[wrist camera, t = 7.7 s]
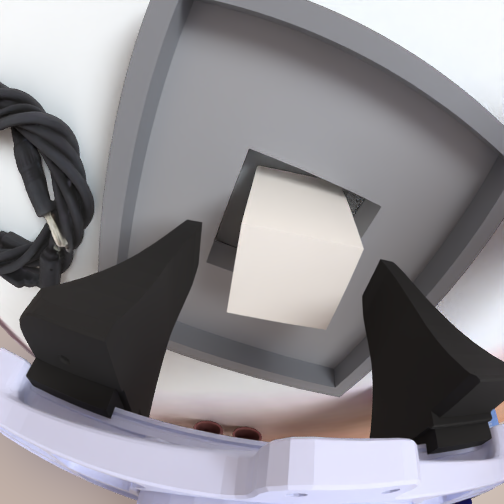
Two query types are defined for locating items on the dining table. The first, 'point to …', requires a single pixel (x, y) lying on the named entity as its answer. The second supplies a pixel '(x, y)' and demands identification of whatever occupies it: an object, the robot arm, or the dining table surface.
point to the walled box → (298, 155)
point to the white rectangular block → (294, 250)
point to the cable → (44, 192)
